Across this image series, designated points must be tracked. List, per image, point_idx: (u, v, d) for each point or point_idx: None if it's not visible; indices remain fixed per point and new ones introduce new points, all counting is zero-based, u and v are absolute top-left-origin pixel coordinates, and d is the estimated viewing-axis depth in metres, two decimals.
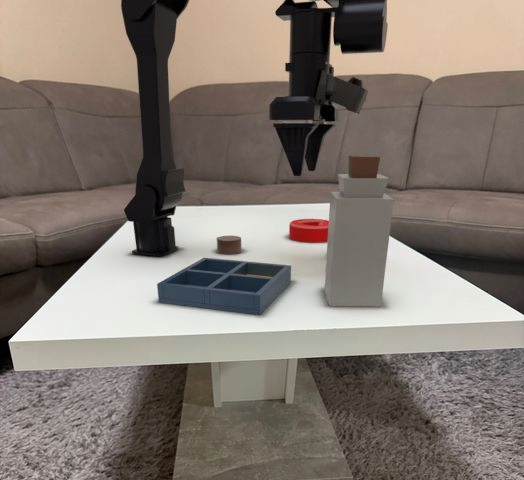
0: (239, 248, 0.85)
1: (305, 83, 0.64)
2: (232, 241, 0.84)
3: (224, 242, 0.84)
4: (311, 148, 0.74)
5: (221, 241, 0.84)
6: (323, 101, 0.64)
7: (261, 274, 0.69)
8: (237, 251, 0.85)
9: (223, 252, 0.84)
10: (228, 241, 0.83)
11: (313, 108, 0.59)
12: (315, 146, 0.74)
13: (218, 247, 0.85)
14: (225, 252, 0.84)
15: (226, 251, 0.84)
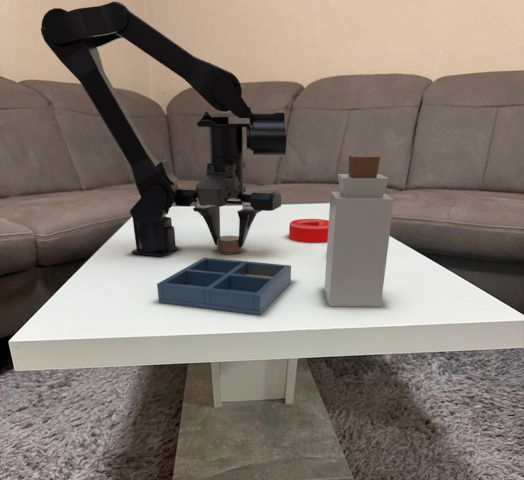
0: (239, 248, 0.85)
1: None
2: (232, 241, 0.84)
3: (224, 242, 0.84)
4: None
5: (221, 241, 0.84)
6: None
7: (261, 274, 0.69)
8: (237, 251, 0.85)
9: (223, 252, 0.84)
10: (228, 241, 0.83)
11: (175, 197, 0.82)
12: None
13: (218, 247, 0.85)
14: (225, 252, 0.84)
15: (226, 251, 0.84)
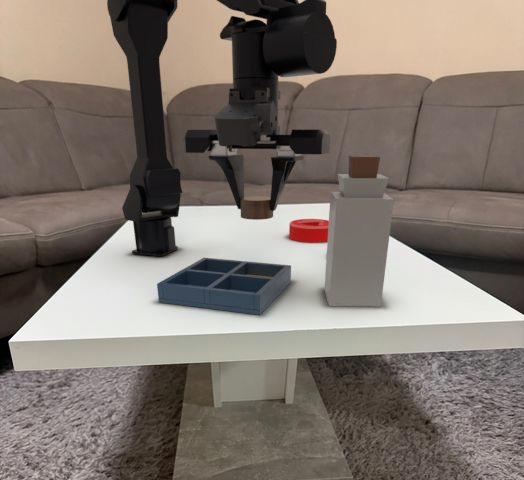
0: (271, 212, 0.63)
1: None
2: (262, 201, 0.61)
3: (251, 203, 0.61)
4: None
5: (247, 201, 0.61)
6: None
7: (261, 274, 0.69)
8: (268, 216, 0.63)
9: (249, 217, 0.62)
10: (257, 201, 0.61)
11: (184, 141, 0.60)
12: None
13: (242, 210, 0.63)
14: (252, 217, 0.62)
15: (254, 215, 0.62)
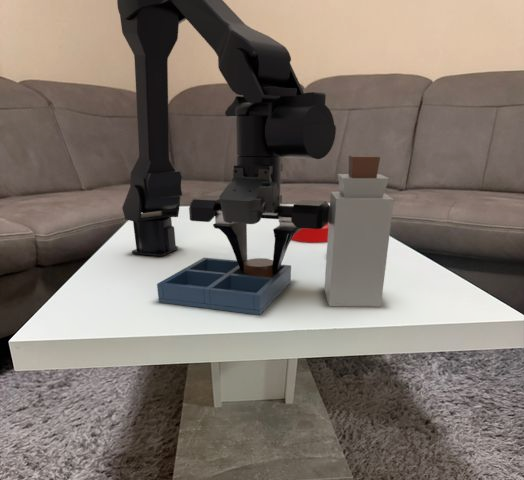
0: (273, 275, 0.65)
1: None
2: (264, 267, 0.64)
3: (254, 268, 0.64)
4: None
5: (250, 267, 0.64)
6: None
7: None
8: None
9: None
10: (259, 267, 0.64)
11: (190, 210, 0.62)
12: None
13: (245, 274, 0.65)
14: None
15: None
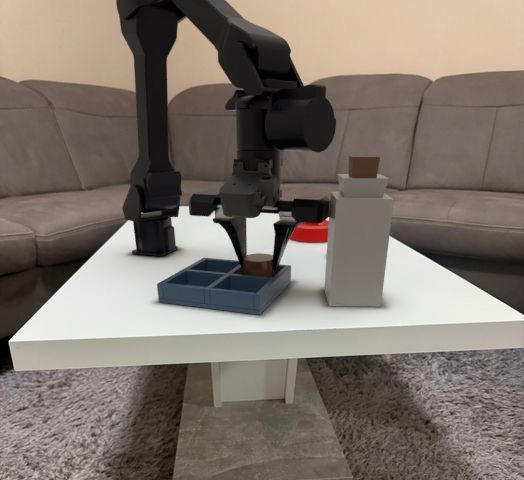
0: (273, 271, 0.65)
1: None
2: (264, 262, 0.63)
3: (254, 263, 0.63)
4: None
5: (250, 262, 0.64)
6: None
7: None
8: (270, 275, 0.65)
9: None
10: (259, 262, 0.63)
11: (190, 205, 0.62)
12: None
13: (245, 269, 0.65)
14: None
15: (256, 275, 0.64)
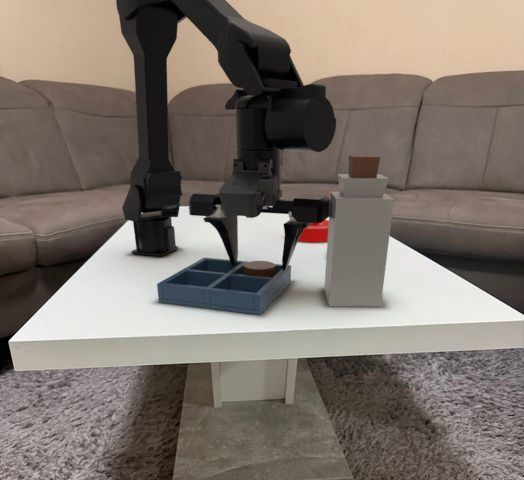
0: None
1: None
2: (264, 270, 0.64)
3: (254, 271, 0.64)
4: None
5: (250, 270, 0.64)
6: None
7: None
8: None
9: None
10: (259, 270, 0.64)
11: (190, 205, 0.62)
12: None
13: None
14: None
15: None
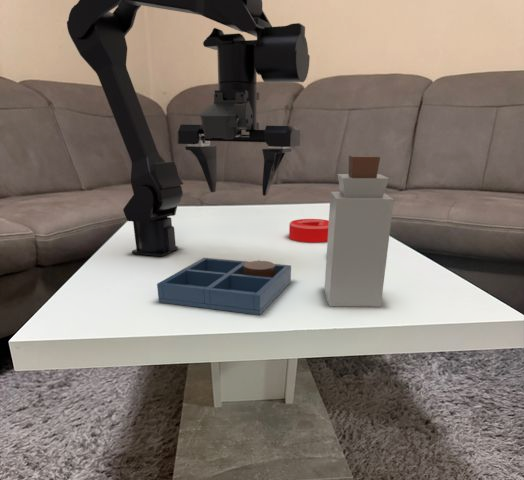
0: None
1: None
2: (264, 270, 0.64)
3: (254, 271, 0.64)
4: None
5: (250, 270, 0.64)
6: None
7: None
8: None
9: None
10: (259, 270, 0.64)
11: (177, 134, 0.71)
12: None
13: None
14: None
15: None
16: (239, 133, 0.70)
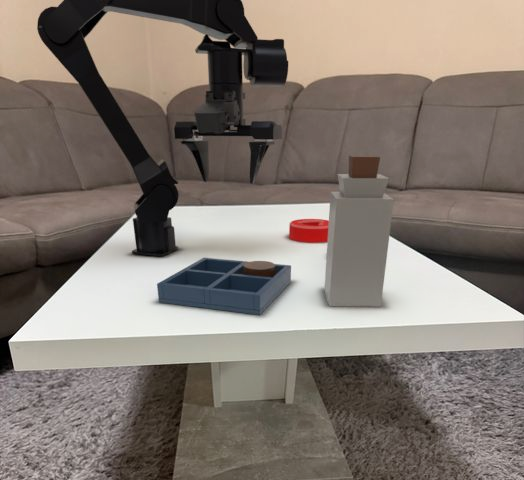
0: None
1: None
2: (264, 270, 0.64)
3: (254, 271, 0.64)
4: None
5: (250, 270, 0.64)
6: None
7: None
8: None
9: None
10: (259, 270, 0.64)
11: (174, 130, 0.80)
12: None
13: None
14: None
15: None
16: (228, 128, 0.80)
